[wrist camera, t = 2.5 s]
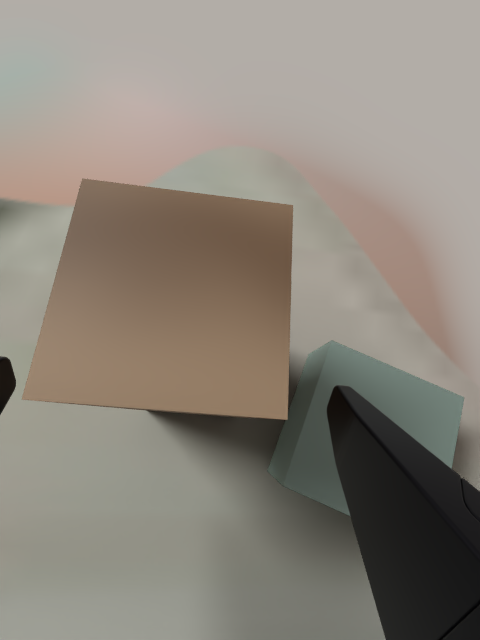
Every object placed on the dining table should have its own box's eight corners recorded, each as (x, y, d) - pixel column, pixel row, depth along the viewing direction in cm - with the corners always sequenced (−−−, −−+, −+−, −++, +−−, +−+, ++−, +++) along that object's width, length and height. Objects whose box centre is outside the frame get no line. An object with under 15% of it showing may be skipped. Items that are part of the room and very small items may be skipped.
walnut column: (235, 417, 18) (287, 420, 6) (145, 410, 17) (21, 399, 6) (242, 331, 19) (292, 205, 8) (159, 323, 19) (82, 178, 7)
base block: (385, 523, 17) (436, 554, 13) (266, 470, 17) (283, 486, 13) (413, 400, 19) (464, 397, 15) (307, 354, 19) (331, 340, 15)
